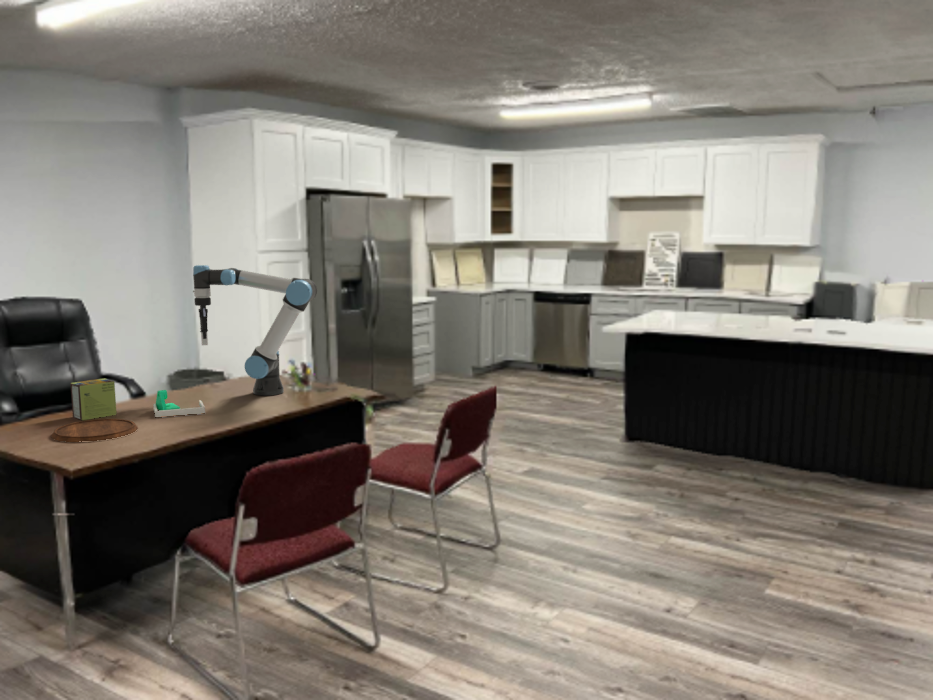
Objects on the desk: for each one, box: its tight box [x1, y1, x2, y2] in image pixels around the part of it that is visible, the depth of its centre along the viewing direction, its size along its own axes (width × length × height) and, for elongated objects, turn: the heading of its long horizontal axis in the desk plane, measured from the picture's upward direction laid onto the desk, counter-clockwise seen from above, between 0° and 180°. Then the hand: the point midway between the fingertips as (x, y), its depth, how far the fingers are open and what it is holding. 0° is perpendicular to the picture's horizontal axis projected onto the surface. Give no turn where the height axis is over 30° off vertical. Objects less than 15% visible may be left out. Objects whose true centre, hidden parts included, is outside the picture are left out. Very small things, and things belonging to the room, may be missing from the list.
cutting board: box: [51, 418, 139, 443], centre depth 318 cm, size 32×32×2 cm
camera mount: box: [155, 389, 181, 411], centre depth 356 cm, size 12×8×10 cm, turn 37°
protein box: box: [69, 378, 117, 421], centre depth 346 cm, size 10×15×16 cm
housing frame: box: [152, 399, 206, 418], centre depth 355 cm, size 21×16×3 cm
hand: (204, 345), depth 382 cm, fingers closed
